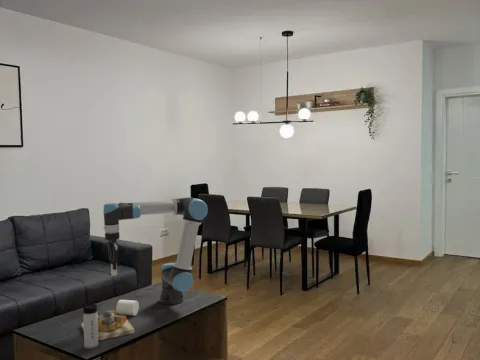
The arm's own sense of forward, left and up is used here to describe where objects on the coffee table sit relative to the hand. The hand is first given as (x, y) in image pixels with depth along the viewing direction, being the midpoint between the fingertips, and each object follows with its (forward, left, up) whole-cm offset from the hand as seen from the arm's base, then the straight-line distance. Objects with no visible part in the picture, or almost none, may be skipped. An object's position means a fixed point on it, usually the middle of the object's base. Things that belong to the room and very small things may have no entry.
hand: (114, 275), depth 237 cm
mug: (-9, -7, -25) cm, 28 cm away
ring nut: (+6, +11, -23) cm, 26 cm away
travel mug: (+18, +27, -25) cm, 41 cm away
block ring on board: (+7, +11, -25) cm, 28 cm away
